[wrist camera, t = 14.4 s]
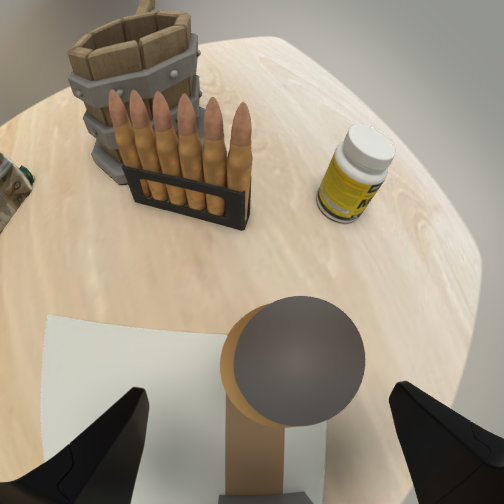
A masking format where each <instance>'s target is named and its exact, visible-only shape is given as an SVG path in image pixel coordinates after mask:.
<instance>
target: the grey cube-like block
mask: <svg viewBox="0 0 504 504" xmlns="http://www.w3.org/2000/svg"><path fill="white" fill-rule="evenodd" d="M218 504H313V503H312V501H311V500H310V498H309V497H308V496H307V494H306V493H305V492H296V493H285V494H271V495H219V498H218Z"/></svg>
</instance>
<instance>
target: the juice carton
mask: <svg viewBox="0 0 504 504" xmlns="http://www.w3.org/2000/svg"><path fill="white" fill-rule="evenodd" d="M32 180H33V176H32V174H31V173H30V171H29V170H28V169H27V168H25V167H24V166H21V167H20V168H18V167H17V166H16V165H15V164H14V163H13V162H12V161H11V160H10V159H9V158H8V157H5V156H4V155H3V154H2V153H0V233H1V232H2V230H3V229H4V227H5V226H6V224H7V223H8V222H9V220H10V219H11V217H12V216H13V215H14V213H15V212H16V211H17V209H18V208H19V206H20V205H21V203H22V202H23V201H24V199H25V198H26V197H27V196H28V195H29V194H30V192H31V191H32V190H33V188H32Z"/></svg>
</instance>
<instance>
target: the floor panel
mask: <svg viewBox="0 0 504 504" xmlns="http://www.w3.org/2000/svg"><path fill="white" fill-rule="evenodd" d="M227 336H228V335H225V334H205V333H190V332H177V331H165V330H154V329H145V328H136V327H127V326H119V325H112V324H105V323H98V322H91V321H85V320H79V319H73V318H67V317H62V316H56V315H51V314H48V316H47V323H46V330H45V338H44V346H43V357H42V370H41V397H40V409H41V435H42V447H43V457H44V463H45V462H46V461H48V460H49V459H50V458H52V457H53V456H54V455H56V454H57V453H58V452H59V451H61V450H62V449H63V448H64V447H65V446H67V445H68V444H70V442H71V441H72V440H74V439H75V438H76V437H77V436H78V435H79V434H80V433H82V432H83V431H84V430H85V429H86V428H87V427H88V426H90V425H91V424H92V423H93V422H94V421H95V420H96V419H97V418H99V417H100V416H101V415H102V414H103V413H104V412H105V411H106V410H108V409H109V408H110V407H111V406H112V405H113V404H114V403H115V402H117V401H118V400H119V399H120V398H121V397H122V396H123V395H124V394H125V393H127V392H128V391H129V390H130V389H131V388H132V387H141V388H144V389H145V390H146V393H147V397H148V400H149V405H150V408H149V416H148V423H147V430H146V438H145V445H144V450H143V454H142V458H141V462H140V466H139V470H138V474H137V478H136V482H135V486H134V491H133V495H132V500H131V504H218V498H219V495H271V494H285V493H296V492H305V493H306V494H307V496H308V497H309V498H310V500H311V501H312V503H313V504H322V502H323V491H324V477H325V460H326V433H327V420H326V421H324V422H321V423H318V424H315V425H310V426H298V427H290V428H276V427H269V426H266V425H262V424H260V423H257V422H255V421H253V420H251V419H250V418H248V417H246V416H245V415H244V414H243V413H241V412H240V411H239V410H238V409H237V408H236V407H235V406H234V405H233V403H232V402H231V400H230V399H229V397H228V395H227V393H226V391H225V389H224V387H223V383H222V380H221V374H220V357H221V352H222V348H223V345H224V343H225V340H226V338H227Z"/></svg>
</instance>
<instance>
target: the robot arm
mask: <svg viewBox="0 0 504 504" xmlns="http://www.w3.org/2000/svg"><path fill="white" fill-rule="evenodd" d="M389 404H390V408H391V412H392V416H393V420H394V425H395V429H396V433H397V436H398V439H399V442H400V445H401V448H402V451H403V454H404V457H405V460H406V463H407V466H408V469H409V472H410V475H411V478H412V482H413V485H414V488H415V492H416V495H417V499H418V502H419V504H504V439H503V438H501V437H499V436H497V435H494V434H493V433H491V432H488V431H487V430H485V429H483V428H481V427H480V426H478V425H476V424H475V423H473V422H470V420H468V419H466V418H465V417H463V416H462V415H460V414H458V413H457V412H455V411H453V410H452V409H450V408H449V407H447V406H446V405H444V404H442V403H441V402H439V401H438V400H436V399H434V398H433V397H431V396H430V395H428V394H427V393H425V392H423V391H422V390H420V389H419V388H417V387H416V386H414V385H413V384H411V383H409V382H408V381H402V382H398V383H396V385H395V387H394V389H393V391H392V392H391V394H390V397H389ZM149 408H150V405H149V400H148V397H147V393H146V390H145V389H144V388H141V387H132V388H131V389H130V390H129V391H128V392H127V393H125V394H124V395H123V396H122V397H121V398H120V399H119V400H118V401H117V402H115V403H114V404H113V405H112V406H111V407H110V408H109V409H108V410H106V411H105V412H104V413H103V414H102V415H101V416H100V417H99V418H97V419H96V420H95V421H94V422H93V423H92V424H91V425H90V426H88V427H87V428H86V429H85V430H84V431H83V432H82V433H80V434H79V435H78V436H77V437H76V438H75V439H74V440H72V441H71V442H70V444H68V445H67V446H65V447H64V448H63V449H62V450H61V451H59V452H58V453H57V454H56V455H54V456H53V457H52V458H50V459H49V460H48V461H46V462H45V463H43V464H42V465H40V466H39V467H37V468H35V469H34V470H32V471H31V472H29V473H27V474H26V475H24V476H22V477H21V478H19V479H17V480H14V481H11V482H0V504H131V500H132V495H133V491H134V486H135V482H136V478H137V474H138V470H139V466H140V462H141V458H142V454H143V450H144V445H145V438H146V430H147V423H148V416H149Z"/></svg>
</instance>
